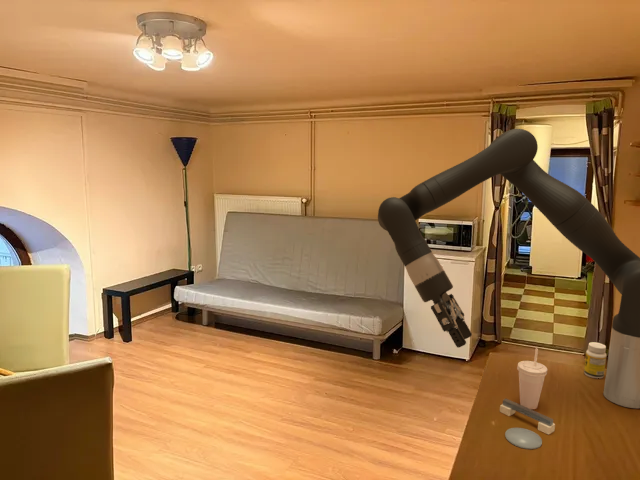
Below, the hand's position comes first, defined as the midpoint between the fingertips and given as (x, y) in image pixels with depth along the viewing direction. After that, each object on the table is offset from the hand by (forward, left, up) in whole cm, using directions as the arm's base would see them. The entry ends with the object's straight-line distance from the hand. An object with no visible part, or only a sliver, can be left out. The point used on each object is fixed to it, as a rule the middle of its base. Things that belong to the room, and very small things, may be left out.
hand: (465, 341), depth 109 cm
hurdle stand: (-5, +13, -17) cm, 22 cm away
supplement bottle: (-39, +22, -17) cm, 48 cm away
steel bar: (-5, +13, -15) cm, 20 cm away
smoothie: (-12, +12, -17) cm, 24 cm away
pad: (+3, +14, -17) cm, 22 cm away
